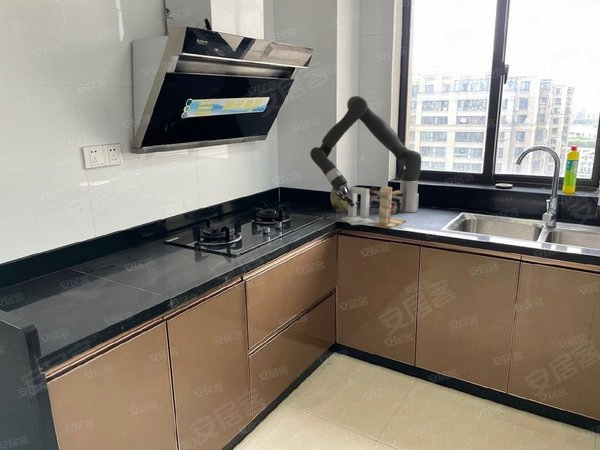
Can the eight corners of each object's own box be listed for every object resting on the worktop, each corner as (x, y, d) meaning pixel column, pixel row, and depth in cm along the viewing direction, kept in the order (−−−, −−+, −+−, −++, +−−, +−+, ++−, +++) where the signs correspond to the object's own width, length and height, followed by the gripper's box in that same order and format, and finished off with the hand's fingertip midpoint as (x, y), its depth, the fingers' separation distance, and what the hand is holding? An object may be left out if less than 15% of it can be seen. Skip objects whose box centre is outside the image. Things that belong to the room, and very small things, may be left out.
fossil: (327, 211, 248) (327, 184, 244) (347, 205, 261) (348, 180, 257) (340, 213, 242) (340, 186, 238) (360, 208, 255) (360, 182, 251)
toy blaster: (398, 220, 240) (404, 193, 237) (360, 213, 240) (366, 186, 236) (396, 218, 244) (403, 192, 240) (359, 211, 243) (365, 185, 240)
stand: (390, 219, 229) (392, 182, 224) (406, 222, 223) (408, 184, 219) (373, 226, 216) (374, 187, 211) (389, 229, 211) (391, 189, 206)
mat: (364, 217, 234) (364, 216, 233) (375, 223, 222) (376, 221, 221) (341, 219, 230) (341, 218, 229) (352, 225, 218) (352, 224, 217)
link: (348, 216, 227) (348, 187, 223) (351, 214, 229) (352, 186, 226) (364, 219, 221) (366, 189, 217) (368, 217, 223) (369, 188, 220)
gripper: (332, 176, 222) (352, 203, 217) (348, 172, 232) (367, 198, 228) (323, 185, 226) (343, 212, 222) (339, 181, 237) (358, 207, 232)
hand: (355, 205), depth 225 cm, fingers closed on link, 3 cm apart
